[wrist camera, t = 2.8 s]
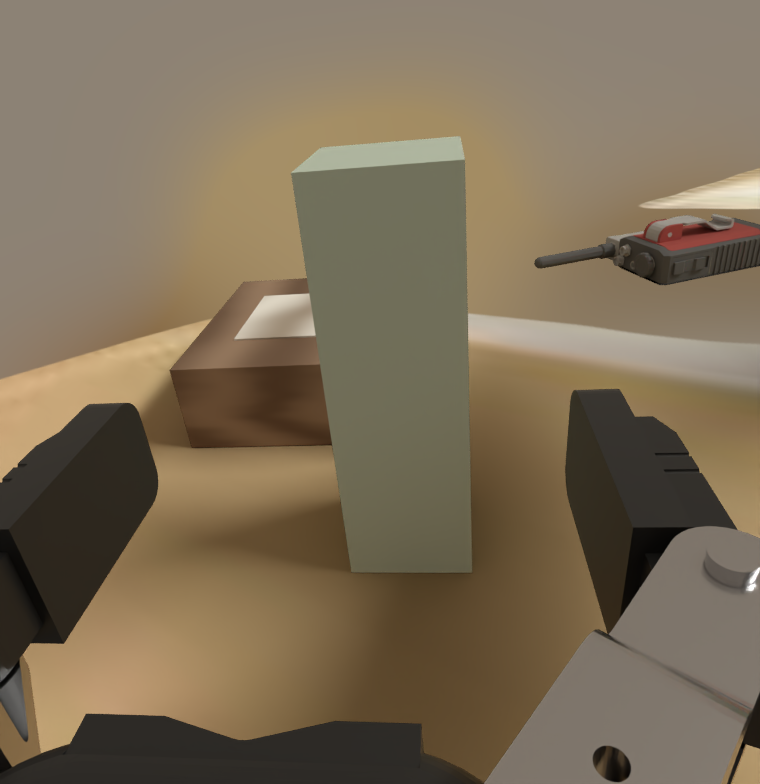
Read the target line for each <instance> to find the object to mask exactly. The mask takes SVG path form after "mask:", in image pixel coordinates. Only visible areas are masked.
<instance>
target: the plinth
mask: <svg viewBox="0 0 760 784" xmlns="http://www.w3.org/2000/svg"><path fill="white" fill-rule="evenodd" d="M170 373H171V377H172V380H173V384H174V387H175V391H176V394H177V398H178V401H179V405H180V408H181V411H182V415H183V418H184V422H185V425H186V429H187V432H188V436H189V439H190V443H191V446H192V448H196V447H240V446H284V445H327V444H332V440H331V434H330V427H329V421H328V414H327V407H326V401H325V394H324V387H323V381H322V374H321V367H320V361H319V354H318V348H317V341H316V334H315V328H314V321H313V314H312V308H311V301H310V295H309V288H308V281H307V278H305V279H287V280H270V281H253V282H243V283H242V284H241V286H240V287H239V288H238V289H237V290H236V292H235V293H234V294H233V295H232V296H231V298H230V299H229V300H228V301H227V302H226V303H225V305H224V306H223V307H222V309H221V310H220V311H219V312H218V313H217V314H216V316H215V317H214V318H213V319H212V320H211V321H210V323H209V324H208V325H207V326H206V327H205V329H204V330H203V331H202V332H201V333H200V335H199V336H198V337H197V338H196V339H195V341H194V342H193V343H192V344H191V345H190V347H189V348H188V349H187V350H186V351H185V352H184V354H183V355H182V356H181V357H180V358H179V360H178V361H177V362H176V363H175V364H174V366H173V367H172V368H171V369H170Z"/></svg>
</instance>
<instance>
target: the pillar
mask: <svg viewBox="0 0 760 784" xmlns="http://www.w3.org/2000/svg"><path fill="white" fill-rule="evenodd" d="M291 175H292V182H293V188H294V195H295V202H296V208H297V215H298V221H299V228H300V234H301V242H302V248H303V255H304V261H305V268H306V274H307V281H308V288H309V295H310V301H311V308H312V314H313V321H314V328H315V334H316V341H317V348H318V354H319V361H320V367H321V374H322V381H323V387H324V394H325V401H326V407H327V414H328V421H329V427H330V434H331V440H332V447H333V454H334V460H335V467H336V474H337V480H338V487H339V493H340V500H341V507H342V513H343V520H344V527H345V533H346V540H347V547H348V553H349V560H350V566H351V572H358V573H472V530H471V475H470V419H469V363H468V311H467V310H468V309H467V308H468V307H467V252H466V199H465V198H466V197H465V158H464V153H463V148H462V143H461V138H460V136H458V137H445V138H433V139H421V140H408V141H396V142H384V143H372V144H359V145H347V146H335V147H323V148H320V149H319V150H317V151H316V152H315V153H314V154H313V155H312V156H310V157H309V158H308V159H307V160H306V161H305V162H303V163H302V164H301V165H300V166H299V167H297V168H296V169H295V170H294V171H293V172H292V173H291Z"/></svg>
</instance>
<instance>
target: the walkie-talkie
mask: <svg viewBox="0 0 760 784" xmlns="http://www.w3.org/2000/svg"><path fill="white" fill-rule="evenodd" d="M712 218H713V220H712V221H709V222H708V221H706V220H704V219H700V218H697V217H693V216H689V215H685V216H679V217H674V218H670V219H668V220H667V219H663V220H656V221H653V222H651V223H650V224H648V226H647V227H646V229H645V230H644V231H641V232H636V233H630V234H625V235H619V236H610V237H607V239H606V244H601V245H599V246H598V247H593V248H587V249H582V250H577V251H571V252H566V253H560V254H555V255H549V256H544V257H539V258H537V259H536V260H535V263H534V264H535V266H536V267H537V268H546V267H552V266H557V265H562V264H567V263H573V262H578V261H584V260H589V259H594V258H601V259H603V258H609V259H611V260H613V263H614V265H616V266H619V267H620V268H621V269H624V270H626V271H628V272H631V273H633V274H635V275H637V276H640V277H642V278H644V279H646V280H649V281H651V282H653V283H656V284H658V285H670V284H675V283H680V282H684V281H689V280H694V279H699V278H704V277H709V276H714V275H719V274H723V273H729V272H733V271H738V270H743V269H748V268H753V267H758V266H760V225H759V224H755V223H751V222H747V221H744V220H740V219H736V218H729V217H725V216H721V215H717V214H713V215H712ZM683 225H688V226H683Z"/></svg>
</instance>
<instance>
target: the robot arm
mask: <svg viewBox="0 0 760 784" xmlns="http://www.w3.org/2000/svg"><path fill="white" fill-rule="evenodd" d="M565 474H566V488H567V495H568V499H569V503H570V507H571V510H572V513H573V517H574V520H575V524H576V527H577V530H578V534H579V537H580V541H581V544H582V548H583V551H584V554H585V558H586V561H587V565H588V568H589V571H590V575H591V578H592V582H593V585H594V589H595V592H596V595H597V599H598V602H599V606H600V609H601V612H602V616H603V619H604V623H605V626H606V630H607V633H608V634H606V633H604V632H603V631H601V630H594V631H593V632H591V633H590V634H589V635H588V636H587V637H586V638H585V640H584V641H583V642H582V644H581V645H580V647H579V648H578V649H577V651H576V652H575V654H574V655H573V657H572V658H571V659H570V661H569V662H568V664H567V665H566V667H565V668H564V669H563V671H562V672H561V674H560V675H559V677H558V678H557V680H556V681H555V682H554V684H553V685H552V687H551V688H550V690H549V691H548V692H547V694H546V695H545V697H544V698H543V700H542V701H541V702H540V704H539V705H538V707H537V708H536V710H535V711H534V712H533V714H532V715H531V717H530V718H529V720H528V721H527V722H526V724H525V725H524V727H523V728H522V730H521V731H520V733H519V734H518V735H517V737H516V738H515V740H514V741H513V743H512V744H511V745H510V747H509V748H508V750H507V751H506V753H505V754H504V755H503V757H502V758H501V760H500V761H499V763H498V764H497V765H496V767H495V768H494V770H493V771H492V773H491V774H490V776H489V777H488V778H487V780H486V781H485V783H484V782H482V781H481V780H479V779H478V778H476V777H475V776H473V775H471V774H470V773H468V772H467V771H465V770H463V769H462V768H460V767H458V766H455V765H453V764H451V763H449V762H447V761H445V760H443V759H440V758H437V757H434V756H431V755H428V754H425V753H424V751H423V739H422V726H421V724H412V723H379V722H346V721H333V722H329V723H324V724H320V725H315V726H311V727H306V728H302V729H297V730H293V731H288V732H283V733H279V734H274V735H270V736H265V737H261V738H256V739H252V740H236V739H232V738H229V737H226V736H223V735H220V734H217V733H214V732H211V731H208V730H205V729H202V728H199V727H196V726H193V725H190V724H187V723H184V722H181V721H178V720H175V719H172V718H169V717H166V716H147V715H114V714H86V715H85V717H84V719H83V721H82V723H81V724H80V726H79V728H78V730H77V732H76V734H75V736H74V737H73V739H72V741H71V743H70V744H68V745H64V746H61V747H58V748H55V749H53V750H50V751H47V752H44V753H41V751H40V744H39V736H38V729H37V721H36V714H35V707H34V699H33V692H32V684H31V677H30V670H29V666H28V664H27V662H26V660H25V658H24V656H23V653H24V652H25V650H26V649H27V647H28V646H29V645H30V643H56V644H64V643H65V641H66V640H67V638H68V636H69V635H70V633H71V632H72V630H73V629H74V627H75V625H76V624H77V622H78V621H79V619H80V618H81V616H82V614H83V613H84V611H85V610H86V608H87V607H88V605H89V603H90V602H91V600H92V599H93V597H94V596H95V594H96V592H97V591H98V589H99V588H100V586H101V585H102V583H103V582H104V580H105V578H106V577H107V575H108V574H109V572H110V571H111V569H112V567H113V566H114V564H115V563H116V561H117V560H118V558H119V556H120V555H121V553H122V552H123V550H124V549H125V547H126V545H127V544H128V542H129V541H130V539H131V538H132V536H133V535H134V533H135V531H136V530H137V528H138V527H139V525H140V524H141V522H142V520H143V519H144V517H145V516H146V514H147V513H148V511H149V509H150V508H151V506H152V505H153V503H154V501H155V498H156V495H157V490H158V474H157V469H156V466H155V463H154V460H153V456H152V453H151V450H150V447H149V444H148V440H147V437H146V434H145V431H144V428H143V424H142V421H141V418H140V415H139V413H138V411H137V409H136V408H135V406H134V405H132V404H130V403H109V404H89V405H87V406H86V407H84V408H83V409H82V410H81V411H80V412H79V413H78V414H77V415H76V416H75V417H74V418H73V419H72V420H71V421H70V422H69V423H68V424H67V425H66V426H65V427H64V428H63V429H62V430H61V431H60V432H59V433H57V434H55V435H54V436H52V437H50V438H49V439H47V440H45V441H44V442H42V443H40V444H39V445H37V446H36V447H35V448H34V449H33V450H32V451H30V452H29V453H28V454H27V455H26V456H25V457H24V458H23V459H22V460H21V461H20V462H19V463H18V467H17V468H13V469H12V470H11V471H10V472H9V473H8V474H7V475H6V476H5V477H4V478H3V479H2V480H3V481H2V483H0V784H732V782H733V779H734V777H735V774H736V772H737V769H738V766H739V764H740V761H741V758H742V756H743V753H744V751H745V748H746V745H750V746H753V747H756V748H759V749H760V538H758V537H755V536H753V535H750V534H748V533H745V532H742V531H739V530H737V528H736V527H735V525H734V523H733V522H732V520H731V519H730V517H729V515H728V514H727V512H726V511H725V509H724V508H723V506H722V504H721V503H720V501H719V500H718V498H717V496H716V495H715V493H714V492H713V490H712V489H711V487H710V485H709V484H708V482H707V481H706V479H705V477H704V476H703V474H702V473H699V468H698V466H697V465H696V463H695V462H694V460H693V458H692V457H691V456H689V452H688V451H687V449H686V447H685V446H684V444H683V443H682V441H681V439H680V438H679V436H678V435H677V433H676V432H674V431H673V430H672V429H670V428H669V427H667V426H666V425H664V424H663V423H661V422H660V421H659V420H657V419H656V418H654V417H653V416H651V417H635V416H634V414H633V413H632V411H631V409H630V407H629V405H628V403H627V402H626V400H625V398H624V396H623V394H622V392H621V391H620V390H619V389H599V390H574V391H573V393H572V396H571V402H570V413H569V426H568V439H567V452H566V467H565Z"/></svg>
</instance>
